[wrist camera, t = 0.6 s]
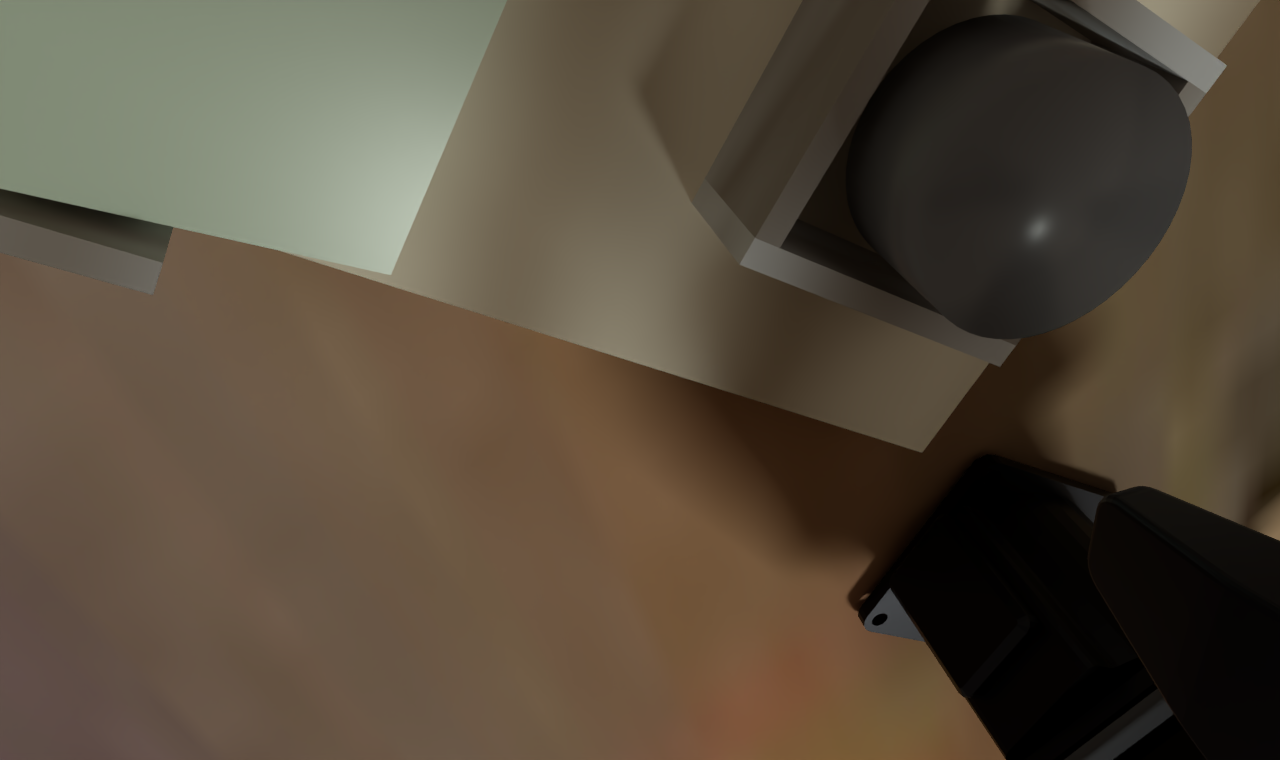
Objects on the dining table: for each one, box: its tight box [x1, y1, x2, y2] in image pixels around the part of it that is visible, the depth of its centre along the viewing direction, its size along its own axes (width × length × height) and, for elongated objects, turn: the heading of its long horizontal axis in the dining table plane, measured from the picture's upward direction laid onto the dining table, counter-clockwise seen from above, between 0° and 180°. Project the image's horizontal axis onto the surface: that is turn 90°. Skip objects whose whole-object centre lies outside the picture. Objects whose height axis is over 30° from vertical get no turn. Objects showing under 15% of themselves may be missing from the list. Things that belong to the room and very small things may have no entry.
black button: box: [846, 14, 1192, 339], centre depth 15 cm, size 4×4×2 cm
